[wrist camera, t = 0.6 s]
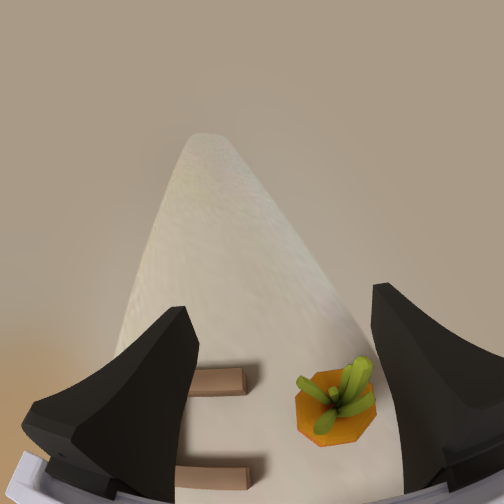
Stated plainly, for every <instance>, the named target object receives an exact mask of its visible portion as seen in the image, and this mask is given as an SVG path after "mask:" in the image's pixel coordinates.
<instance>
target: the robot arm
mask: <svg viewBox="0 0 504 504" xmlns="http://www.w3.org/2000/svg"><path fill="white" fill-rule="evenodd" d="M372 298H373V299H372V315H371V330H372V335H373V339H374V343H375V348H376V351H377V354H378V356H379V359H380V362H381V365H382V368H383V371H384V373H385V376H386V379H387V382H388V385H389V388H390V391H391V394H392V398H393V401H394V406H395V411H396V416H397V422H398V428H399V435H400V442H401V451H402V461H403V476H404V495H401V496H397V497H393V498H389V499H385V500H380V501H375V502H370V503H365V504H504V358H503V357H500V356H498V355H495V354H493V353H490V352H488V351H486V350H484V349H482V348H479V347H477V346H476V345H474V344H471V343H470V342H468V341H466V340H464V339H462V338H461V337H459V336H457V335H456V334H454V333H452V332H450V331H449V330H448V329H446V328H445V327H443V326H442V325H440V324H439V323H438V322H436V321H435V320H433V319H432V318H431V317H429V316H428V315H427V314H425V313H424V312H423V311H422V310H420V309H419V308H418V307H417V306H415V305H414V304H413V303H412V302H411V301H409V300H408V299H407V298H406V297H405V296H404V295H402V294H401V293H400V292H399V291H398V290H396V289H395V288H394V287H393V286H392V285H391V284H389V283H382V284H376V285H373V296H372ZM199 344H200V343H199V341H198V338H197V336H196V333H195V331H194V328H193V326H192V323H191V320H190V318H189V315H188V312H187V310H186V307H185V306H178V307H171V308H169V309H168V310H167V311H166V312H165V313H164V314H163V315H162V316H161V317H160V318H159V319H157V320H156V321H155V322H154V323H153V324H152V325H151V326H150V327H149V328H148V329H147V330H146V331H145V332H144V333H143V334H142V335H141V336H140V337H139V338H138V339H137V340H136V341H134V342H133V343H132V344H131V345H130V346H129V347H128V348H127V349H125V350H124V351H123V352H122V353H121V354H120V355H119V356H117V357H116V358H115V359H114V360H112V361H111V362H110V363H108V364H107V365H105V366H104V367H103V368H101V369H100V370H98V371H97V372H95V373H94V374H92V375H90V376H89V377H87V378H86V379H84V380H82V381H81V382H79V383H77V384H75V385H73V386H71V387H70V388H67V389H66V390H63V391H61V392H59V393H57V394H54V395H52V396H49V397H47V398H44V399H41V400H39V401H36V402H34V403H33V405H32V406H31V408H30V410H29V412H28V413H27V415H26V417H25V419H24V420H23V422H22V425H21V426H22V429H23V431H24V432H25V433H26V435H27V436H28V437H29V438H30V439H31V440H32V441H33V442H35V443H36V444H37V445H38V446H39V447H40V448H41V449H43V450H44V451H45V452H46V453H47V454H48V455H50V456H51V458H50V460H49V462H48V461H46V460H45V459H43V458H41V457H39V456H37V455H35V454H33V453H31V452H29V451H25V452H24V453H23V455H22V458H21V460H20V462H19V464H18V466H17V468H16V470H15V472H14V474H13V477H12V479H11V481H10V483H9V486H8V488H7V490H6V493H5V494H6V496H8V497H9V498H11V499H12V500H14V501H15V502H17V503H18V504H175V468H176V455H177V446H178V438H179V431H180V424H181V418H182V414H183V410H184V407H185V403H186V400H187V396H188V393H189V389H190V386H191V383H192V379H193V376H194V372H195V369H196V365H197V359H198V352H199Z"/></svg>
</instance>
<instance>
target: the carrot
mask: <svg viewBox="0 0 504 504" xmlns="http://www.w3.org/2000/svg"><path fill="white" fill-rule="evenodd" d="M373 366H374V365H373V364H372V362H371V360H370V359H369V358H367V357H366V356H359V357H358V358H356V359H355V360H354V363H353V364H349V365H347V366H346V367H345V368H344V369H338V370H331V371H324V372H317V373H316V374H315V375H314V376H313V377H312V378H311V380H309V379H307V378H305V377H303V376H300V377H298V379H297V381H296V384H297V386H298V388H299V389H301V391H300V392H299V393H298V394H297V395H296V397H295V401H296V415H297V428H298V431H299V432H301V433H302V434H303V435H305V436H306V437H307V438H309V439H310V440H311V441H313V442H314V443H315V444H317V445H318V446H320V447H325V446H332V445H339V444H345V443H351V442H356V441H357V440H358V439H359V437H360V436H361V435H362V434H363V432H364V431H365V430H366V429H367V427H368V426H369V425H370V423H371V422H372V421H373V419H374V418H375V417H376V415H377V413H376V406H375V401H376V399H375V396H374V392H373V386H372V384H371V383H369V382H368V381H369V379H370V377H371V373H372V370H373Z"/></svg>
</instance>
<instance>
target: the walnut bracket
mask: <svg viewBox="0 0 504 504" xmlns="http://www.w3.org/2000/svg"><path fill="white" fill-rule="evenodd" d="M240 395H247V385H246V374H245V372H244V371H243V369H242V368H228V369H207V370H195V372H194V376H193V379H192V383H191V386H190V389H189V393H188V396H187V397H213V396H240ZM175 487H183V488H194V489H210V490H248V489H249V488H250V487H251V478H250V467H200V466H184V465H176V468H175Z"/></svg>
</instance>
